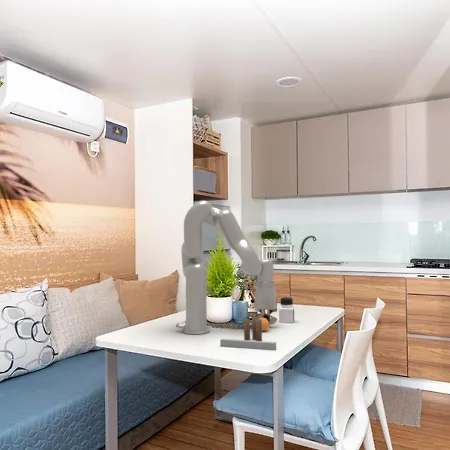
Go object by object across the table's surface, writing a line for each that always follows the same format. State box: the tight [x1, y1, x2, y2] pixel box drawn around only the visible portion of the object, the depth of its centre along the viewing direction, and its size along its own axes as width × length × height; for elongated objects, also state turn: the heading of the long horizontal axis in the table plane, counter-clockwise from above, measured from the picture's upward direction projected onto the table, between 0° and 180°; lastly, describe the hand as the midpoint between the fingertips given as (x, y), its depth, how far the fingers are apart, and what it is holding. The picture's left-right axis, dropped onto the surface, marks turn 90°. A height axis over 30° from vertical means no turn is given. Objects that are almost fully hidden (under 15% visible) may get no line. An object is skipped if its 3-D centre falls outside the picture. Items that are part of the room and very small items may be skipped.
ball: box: [258, 317, 270, 332], centre depth 190 cm, size 6×6×6 cm
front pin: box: [251, 316, 259, 341], centre depth 175 cm, size 2×2×9 cm
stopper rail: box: [219, 338, 277, 351], centre depth 163 cm, size 22×2×2 cm, turn 73°
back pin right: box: [255, 318, 263, 341], centre depth 171 cm, size 2×2×9 cm
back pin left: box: [243, 318, 251, 341], centre depth 172 cm, size 2×2×9 cm
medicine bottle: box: [278, 296, 295, 324], centre depth 210 cm, size 7×7×12 cm
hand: (266, 323), depth 198 cm, fingers closed
